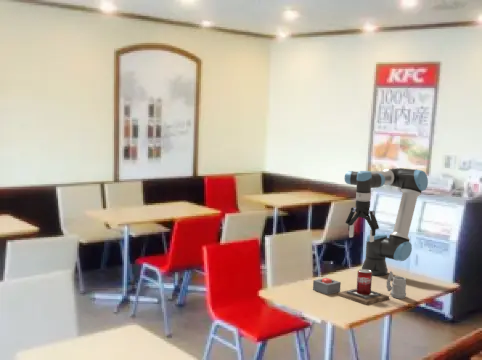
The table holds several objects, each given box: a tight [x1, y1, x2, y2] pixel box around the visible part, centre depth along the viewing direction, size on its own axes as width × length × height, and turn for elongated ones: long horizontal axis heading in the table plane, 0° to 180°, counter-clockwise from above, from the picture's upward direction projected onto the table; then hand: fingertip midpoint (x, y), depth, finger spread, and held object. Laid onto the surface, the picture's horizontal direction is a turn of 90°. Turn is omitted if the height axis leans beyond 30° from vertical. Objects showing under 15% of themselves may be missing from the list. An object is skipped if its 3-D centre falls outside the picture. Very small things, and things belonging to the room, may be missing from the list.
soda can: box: [356, 268, 373, 296], centre depth 298 cm, size 7×7×12 cm
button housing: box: [312, 278, 342, 295], centre depth 308 cm, size 10×10×5 cm
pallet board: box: [337, 287, 390, 306], centre depth 299 cm, size 18×18×2 cm
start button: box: [321, 277, 333, 284], centre depth 308 cm, size 5×5×5 cm
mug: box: [386, 270, 407, 300], centre depth 304 cm, size 8×12×12 cm, turn 35°
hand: (361, 239), depth 315 cm, fingers open, 13 cm apart
